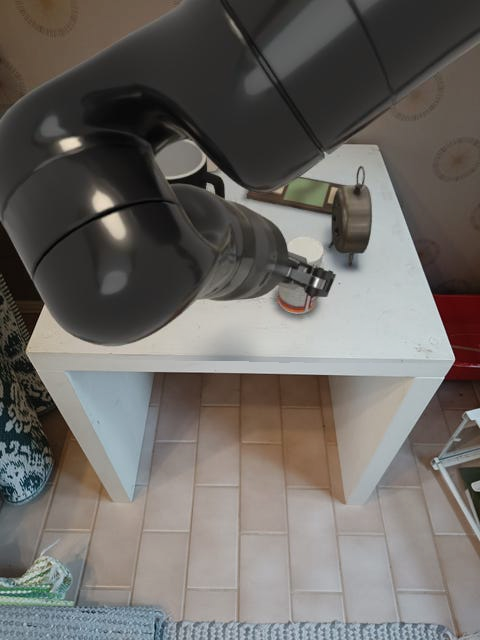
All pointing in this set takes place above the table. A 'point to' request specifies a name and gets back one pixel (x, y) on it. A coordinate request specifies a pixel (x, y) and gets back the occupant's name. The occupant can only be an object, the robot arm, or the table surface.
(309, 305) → the pill bottle
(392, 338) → the table surface
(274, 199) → the board
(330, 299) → the table surface
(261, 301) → the table surface
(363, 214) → the alarm clock
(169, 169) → the mug
